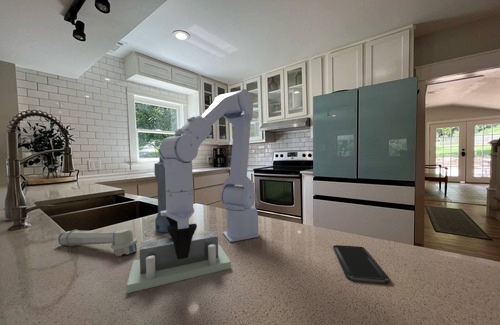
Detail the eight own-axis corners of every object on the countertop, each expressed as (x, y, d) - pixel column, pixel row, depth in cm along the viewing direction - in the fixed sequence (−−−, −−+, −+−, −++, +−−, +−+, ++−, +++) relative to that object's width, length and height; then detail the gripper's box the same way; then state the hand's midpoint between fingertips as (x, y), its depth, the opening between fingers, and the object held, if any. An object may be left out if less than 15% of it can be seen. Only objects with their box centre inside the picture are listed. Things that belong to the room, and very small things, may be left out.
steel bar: (214, 250, 52) (213, 230, 51) (218, 257, 48) (217, 236, 48) (141, 264, 45) (141, 242, 45) (140, 274, 42) (139, 249, 41)
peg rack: (219, 249, 55) (218, 229, 55) (231, 268, 46) (230, 244, 46) (133, 266, 47) (132, 242, 47) (127, 293, 38) (125, 264, 38)
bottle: (157, 225, 76) (154, 143, 75) (185, 222, 79) (183, 143, 78) (153, 234, 67) (150, 141, 66) (185, 230, 70) (183, 141, 69)
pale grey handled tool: (74, 228, 63) (139, 223, 56) (77, 249, 63) (143, 247, 56) (54, 234, 58) (122, 229, 51) (57, 257, 58) (126, 256, 51)
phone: (347, 277, 41) (332, 244, 56) (347, 282, 41) (332, 248, 56) (392, 280, 39) (364, 246, 54) (392, 286, 39) (364, 250, 54)
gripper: (160, 187, 51) (161, 241, 52) (159, 197, 38) (162, 270, 38) (189, 185, 54) (190, 236, 54) (199, 194, 41) (200, 262, 41)
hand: (181, 250), depth 47 cm, fingers open, 7 cm apart
